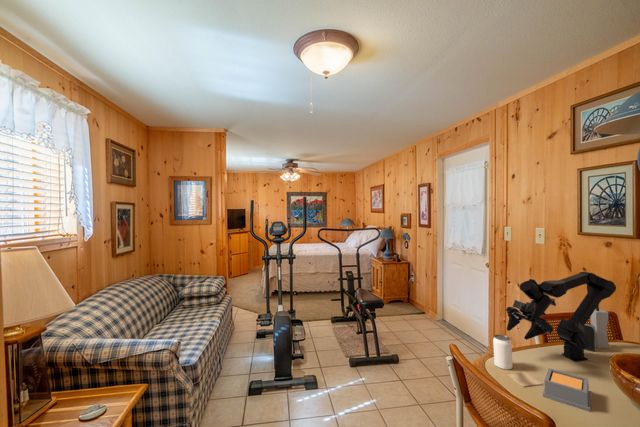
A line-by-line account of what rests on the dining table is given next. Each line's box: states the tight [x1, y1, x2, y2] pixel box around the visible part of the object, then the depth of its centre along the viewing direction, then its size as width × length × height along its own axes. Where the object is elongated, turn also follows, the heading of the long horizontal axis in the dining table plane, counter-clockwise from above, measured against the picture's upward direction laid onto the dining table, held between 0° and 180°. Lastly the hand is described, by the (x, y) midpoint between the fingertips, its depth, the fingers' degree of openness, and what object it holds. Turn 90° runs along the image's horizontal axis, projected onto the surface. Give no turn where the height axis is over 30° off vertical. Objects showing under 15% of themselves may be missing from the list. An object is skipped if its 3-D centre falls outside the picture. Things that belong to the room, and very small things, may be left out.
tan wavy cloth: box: [506, 371, 544, 388], centre depth 109 cm, size 8×8×1 cm
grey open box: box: [542, 367, 592, 412], centre depth 99 cm, size 12×12×6 cm
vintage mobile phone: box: [590, 304, 611, 350], centre depth 133 cm, size 4×5×25 cm
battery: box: [584, 323, 597, 352], centre depth 132 cm, size 7×4×11 cm, turn 38°
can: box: [492, 334, 513, 371], centre depth 120 cm, size 6×6×12 cm
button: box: [551, 372, 583, 390], centre depth 99 cm, size 8×8×2 cm
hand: (516, 334), depth 121 cm, fingers open, 9 cm apart
